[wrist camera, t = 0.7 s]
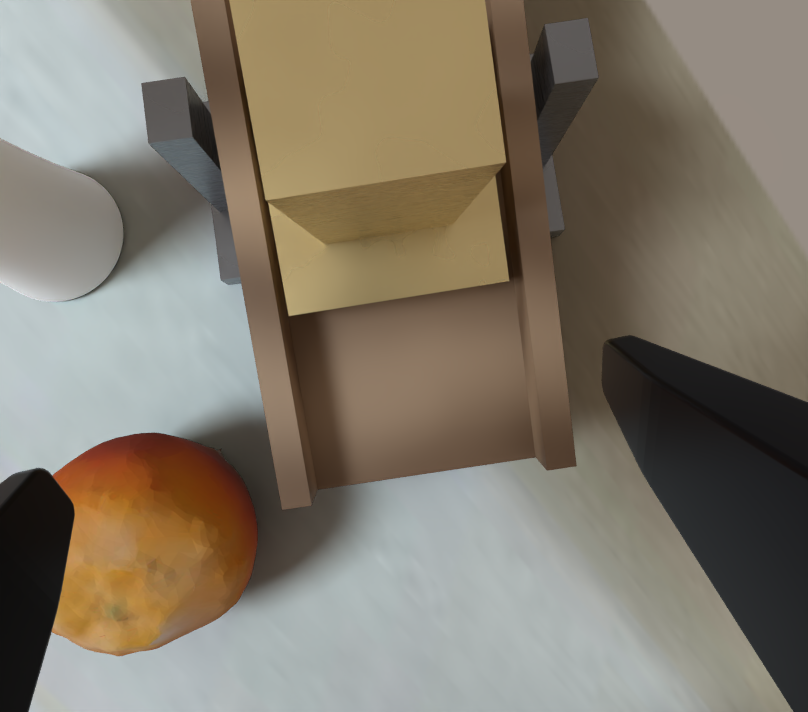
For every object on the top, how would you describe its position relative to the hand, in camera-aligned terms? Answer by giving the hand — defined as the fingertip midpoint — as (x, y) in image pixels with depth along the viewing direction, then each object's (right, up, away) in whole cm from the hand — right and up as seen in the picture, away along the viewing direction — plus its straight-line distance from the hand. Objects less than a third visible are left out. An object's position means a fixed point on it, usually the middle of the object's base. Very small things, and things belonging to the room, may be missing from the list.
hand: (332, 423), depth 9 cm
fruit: (-9, -6, +15) cm, 19 cm away
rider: (0, +7, +10) cm, 12 cm away
